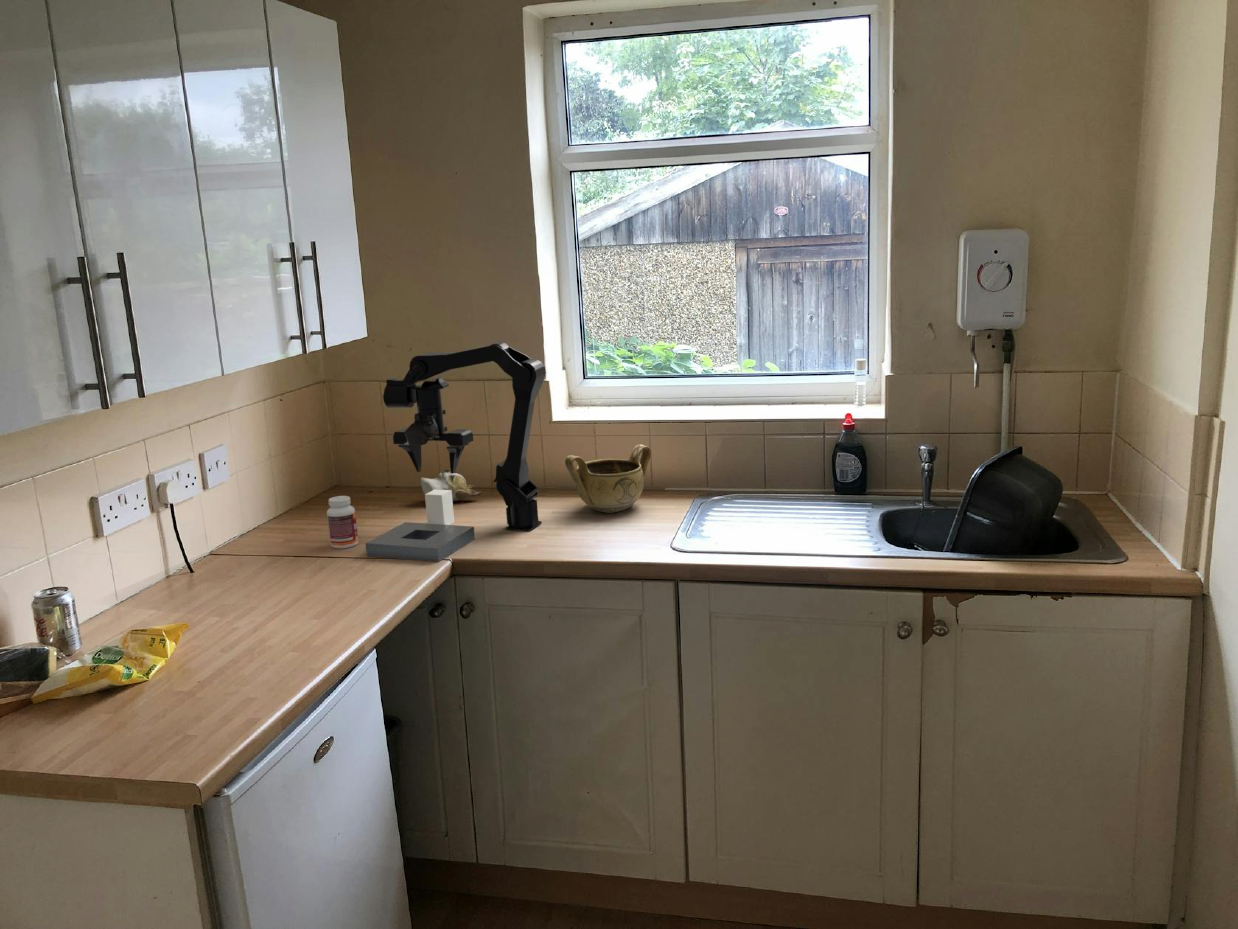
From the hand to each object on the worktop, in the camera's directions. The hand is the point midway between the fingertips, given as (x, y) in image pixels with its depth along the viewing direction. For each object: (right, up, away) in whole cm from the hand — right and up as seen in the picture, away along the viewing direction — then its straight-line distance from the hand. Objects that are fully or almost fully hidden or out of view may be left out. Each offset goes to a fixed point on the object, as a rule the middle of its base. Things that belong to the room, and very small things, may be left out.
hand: (436, 472), depth 235 cm
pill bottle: (-19, -17, -9) cm, 27 cm away
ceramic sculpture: (-1, -8, +24) cm, 26 cm away
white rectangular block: (+1, -13, +3) cm, 13 cm away
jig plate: (-1, -17, -14) cm, 22 cm away
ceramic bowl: (+41, -9, +9) cm, 43 cm away
